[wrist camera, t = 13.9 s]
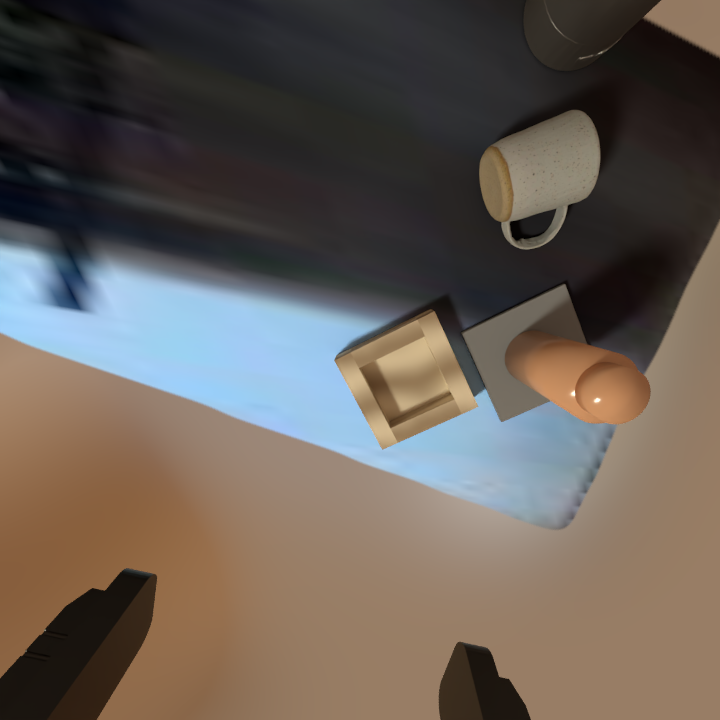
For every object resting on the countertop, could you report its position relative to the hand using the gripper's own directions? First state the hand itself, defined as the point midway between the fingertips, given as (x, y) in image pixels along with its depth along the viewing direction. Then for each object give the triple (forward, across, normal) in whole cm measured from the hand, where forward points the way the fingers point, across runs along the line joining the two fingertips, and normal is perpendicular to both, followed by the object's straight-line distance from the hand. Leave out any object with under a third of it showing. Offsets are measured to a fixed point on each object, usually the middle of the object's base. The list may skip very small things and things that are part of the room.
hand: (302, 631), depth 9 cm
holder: (+33, -6, +2) cm, 33 cm away
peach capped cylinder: (+32, -20, -4) cm, 38 cm away
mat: (+33, -20, -4) cm, 39 cm away
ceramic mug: (+33, -13, -20) cm, 41 cm away
